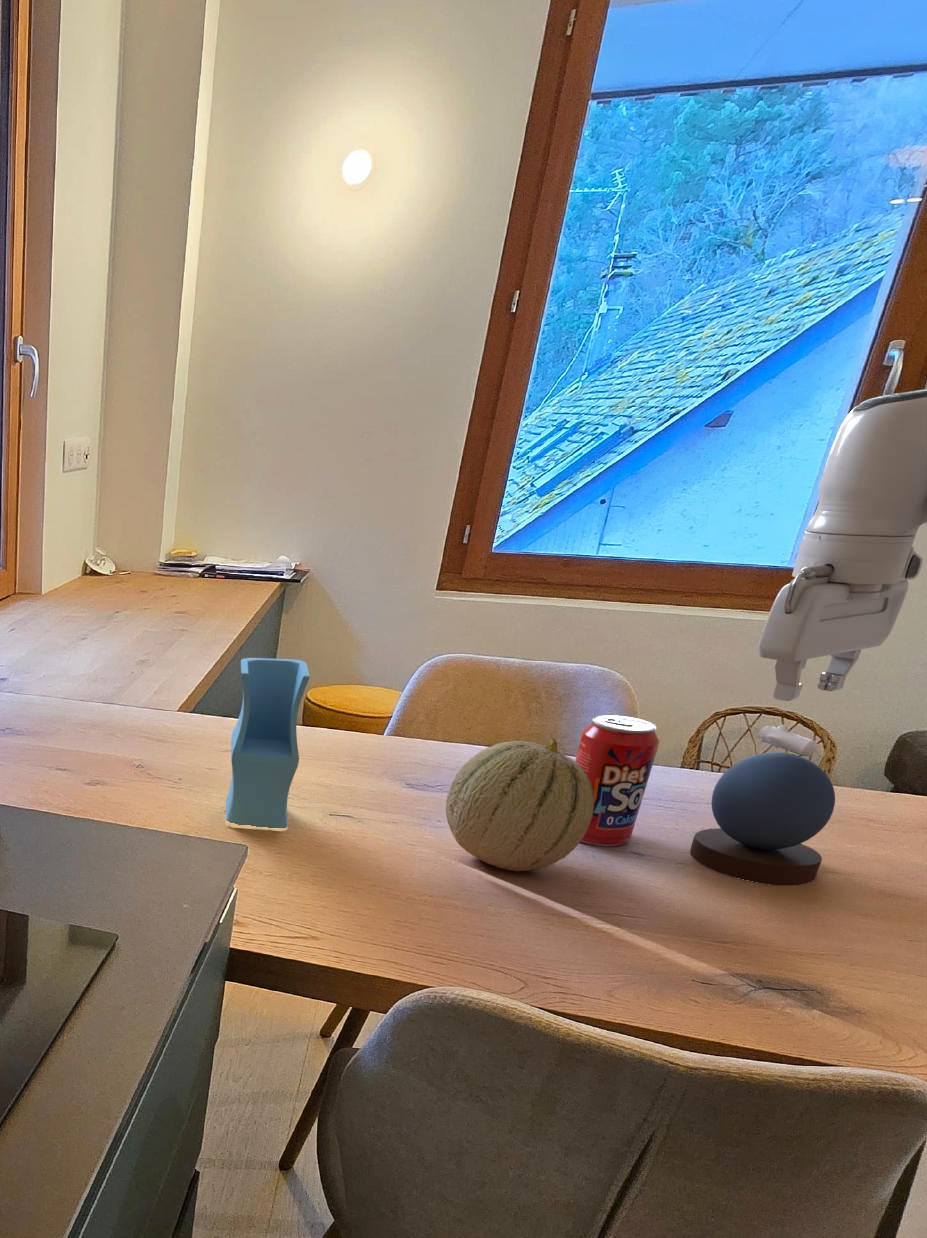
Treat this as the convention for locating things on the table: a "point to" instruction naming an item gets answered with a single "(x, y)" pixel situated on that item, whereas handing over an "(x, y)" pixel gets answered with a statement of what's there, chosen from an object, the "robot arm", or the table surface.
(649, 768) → the soda can
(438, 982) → the table surface
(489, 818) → the cantaloupe
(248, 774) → the vase
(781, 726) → the small white plastic part
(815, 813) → the blue egg sculpture
